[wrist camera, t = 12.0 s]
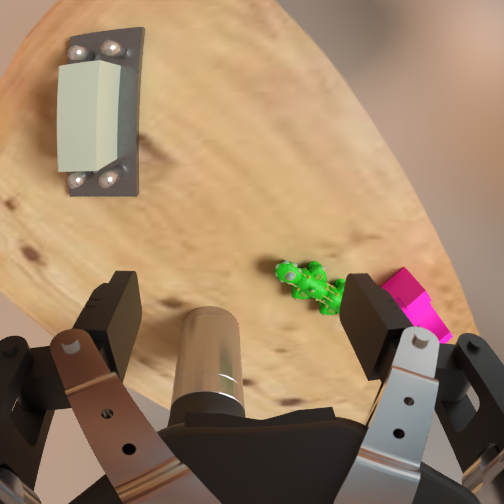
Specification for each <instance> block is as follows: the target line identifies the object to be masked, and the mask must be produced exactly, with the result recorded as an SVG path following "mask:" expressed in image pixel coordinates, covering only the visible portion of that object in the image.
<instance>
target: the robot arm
mask: <svg viewBox="0 0 504 504" xmlns="http://www.w3.org/2000/svg"><path fill="white" fill-rule="evenodd" d="M339 316H340V321H341V324H342V326H343V328H344V330H345V332H346V334H347V336H348V338H349V340H350V342H351V345H352V347H353V349H354V351H355V353H356V355H357V357H358V360H359V362H360V364H361V366H362V368H363V370H364V373H365V375H366V377H367V379H368V381H370V380H377V379H380V380H381V382H382V383H381V385H380V387H379V389H378V392H377V394H376V397H375V399H374V401H373V404H372V406H371V409H370V411H369V413H368V415H367V418H366V420H365V422H364V424H361V423H359V422H356V421H353V420H350V419H346V418H341V417H335V414H334V411H333V408H332V407H326V408H316V409H306V410H297V411H294V412H290V413H287V414H283V415H280V416H276V417H273V418H269V419H265V420H256V419H250V418H245V409H244V395H243V381H242V366H241V350H240V332H239V324H238V322H237V319H236V318H235V317H234V316H233V315H232V314H231V313H230V312H229V311H227V310H225V309H222V308H219V307H213V306H205V307H200V308H197V309H195V310H193V311H191V312H190V313H189V314H188V315H187V316H186V317H185V319H184V321H183V326H182V332H181V338H180V344H179V351H178V357H177V364H176V371H175V379H174V386H173V395H172V402H171V410H170V418H169V422H168V426H167V428H164V429H162V430H160V431H158V432H156V431H155V430H154V428H153V427H152V426H151V424H150V423H149V421H148V420H147V419H146V417H145V416H144V414H143V413H142V412H141V410H140V409H139V407H138V406H137V404H136V403H135V402H134V400H133V399H132V397H131V396H130V394H129V393H128V391H127V390H126V388H125V387H124V385H123V380H124V376H125V373H126V369H127V366H128V362H129V359H130V355H131V352H132V349H133V345H134V342H135V339H136V335H137V332H138V329H139V326H140V323H141V317H142V307H141V300H140V293H139V286H138V279H137V274H136V272H135V271H115V273H114V275H113V276H112V278H111V280H110V282H109V283H103V284H101V285H100V286H99V287H97V288H96V289H95V290H94V291H93V292H92V294H91V296H90V298H89V300H88V301H87V303H86V304H85V307H84V308H83V310H82V311H81V313H80V315H79V317H78V319H77V320H76V322H75V324H74V326H73V328H72V329H68V330H65V331H62V332H60V333H59V334H57V335H56V336H55V337H54V338H53V340H52V341H51V343H50V346H45V347H37V348H29V346H28V343H27V341H26V340H25V339H24V338H22V337H20V336H10V337H6V338H5V339H2V340H1V341H0V504H41V501H40V499H39V497H38V496H37V495H36V494H35V492H34V487H35V482H36V478H37V473H38V469H39V465H40V461H41V457H42V453H43V449H44V446H45V442H46V438H47V434H48V431H49V428H50V424H51V421H52V418H53V415H54V411H55V410H57V409H66V408H72V409H73V412H74V413H75V416H76V418H77V420H78V422H79V424H80V426H81V429H82V431H83V433H84V435H85V437H86V438H87V441H88V443H89V445H90V446H91V448H92V450H93V452H94V454H95V456H96V458H97V460H98V461H99V463H100V465H101V466H102V468H103V470H104V472H105V475H104V476H102V477H101V478H100V479H99V480H97V481H96V482H95V483H94V484H93V485H91V486H90V487H89V488H88V489H86V490H85V491H84V492H82V493H81V494H80V495H79V496H77V497H76V498H75V499H74V500H72V501H71V502H70V503H68V504H504V365H503V364H502V362H501V361H500V359H499V358H498V357H497V355H496V354H495V353H494V351H493V350H492V349H491V348H490V346H489V345H488V344H487V342H486V341H485V340H483V339H482V338H481V337H479V336H477V335H475V334H471V333H465V334H462V335H460V337H459V338H458V340H457V342H456V344H455V345H453V344H444V343H439V340H438V338H437V337H436V336H435V335H434V334H433V333H432V332H431V331H429V330H427V329H425V328H421V327H414V325H413V324H412V323H411V321H410V320H409V318H408V317H407V316H406V314H405V313H404V312H403V310H402V309H401V308H399V305H398V304H397V302H395V300H394V298H393V297H392V296H391V294H390V293H389V292H388V291H386V290H385V289H384V288H382V287H381V286H379V285H376V284H375V282H374V281H373V280H372V278H371V277H370V276H369V275H368V274H367V273H358V274H348V276H347V278H346V282H345V286H344V291H343V295H342V300H341V304H340V309H339ZM471 385H472V387H473V389H474V390H475V392H476V394H477V395H478V397H479V401H480V406H479V409H478V411H477V412H476V410H475V408H474V406H473V405H472V403H471V401H470V399H469V398H468V396H467V394H466V392H467V391H468V389H469V388H470V386H471ZM16 399H17V401H16ZM15 401H16V403H15ZM14 404H15V406H14ZM13 406H14V408H13ZM12 409H13V411H12ZM434 409H435V411H436V414H437V415H438V418H439V420H440V422H441V424H442V426H443V428H444V431H445V433H446V435H447V437H448V440H449V442H450V444H451V446H452V449H453V451H454V453H455V456H456V458H457V460H458V463H459V465H460V467H461V470H462V472H463V477H462V485H460V484H459V483H457V482H455V481H454V480H452V479H450V478H448V477H447V476H445V475H443V474H442V473H440V472H438V471H436V470H435V469H433V468H432V467H430V466H428V465H426V464H425V463H423V462H422V461H421V460H422V456H423V453H424V449H425V445H426V442H427V438H428V434H429V429H430V425H431V421H432V416H433V412H434Z"/></svg>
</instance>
